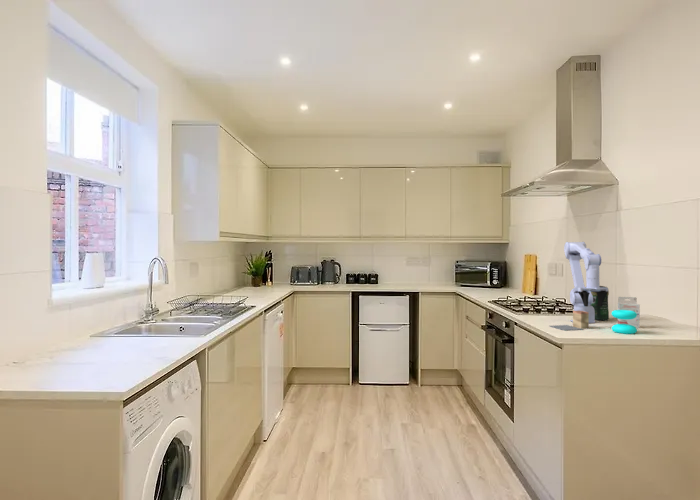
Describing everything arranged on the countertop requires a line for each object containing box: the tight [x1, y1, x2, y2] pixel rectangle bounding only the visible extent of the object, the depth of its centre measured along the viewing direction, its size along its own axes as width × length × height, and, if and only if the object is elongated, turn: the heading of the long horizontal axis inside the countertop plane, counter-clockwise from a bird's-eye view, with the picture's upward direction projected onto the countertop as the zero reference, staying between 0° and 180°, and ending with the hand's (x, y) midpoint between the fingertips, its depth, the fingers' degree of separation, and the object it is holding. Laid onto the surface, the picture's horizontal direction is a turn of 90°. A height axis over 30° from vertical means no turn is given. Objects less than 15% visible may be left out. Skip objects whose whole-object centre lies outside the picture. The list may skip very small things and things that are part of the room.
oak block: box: [572, 310, 590, 329], centre depth 216 cm, size 4×6×8 cm, turn 9°
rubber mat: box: [549, 324, 584, 331], centre depth 215 cm, size 10×12×1 cm
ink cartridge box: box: [617, 296, 641, 329], centre depth 217 cm, size 9×5×15 cm, turn 71°
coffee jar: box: [591, 285, 610, 321], centre depth 241 cm, size 10×8×19 cm
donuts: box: [611, 309, 638, 335], centre depth 203 cm, size 10×10×10 cm
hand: (593, 306), depth 216 cm, fingers open, 7 cm apart
